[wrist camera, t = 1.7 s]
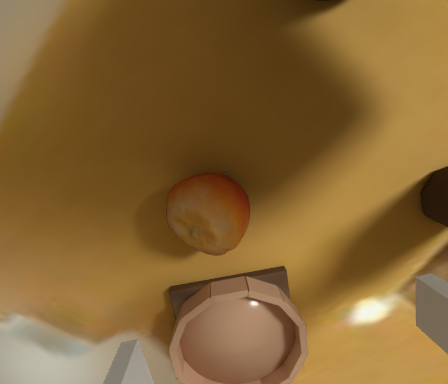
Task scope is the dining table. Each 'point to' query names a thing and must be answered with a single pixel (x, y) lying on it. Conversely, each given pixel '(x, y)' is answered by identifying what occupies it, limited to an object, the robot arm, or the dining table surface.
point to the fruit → (208, 212)
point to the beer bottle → (436, 197)
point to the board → (188, 290)
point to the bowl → (238, 335)
